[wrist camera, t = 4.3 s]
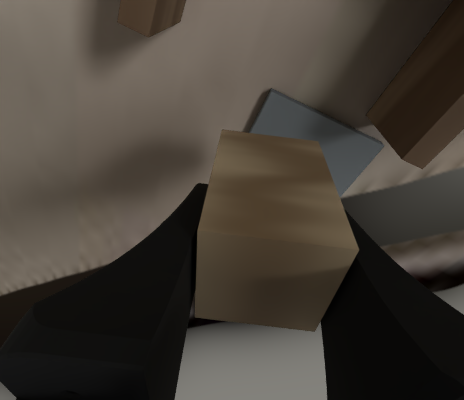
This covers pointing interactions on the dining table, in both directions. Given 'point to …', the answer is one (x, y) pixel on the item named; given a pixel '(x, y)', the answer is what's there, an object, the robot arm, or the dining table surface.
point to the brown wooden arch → (396, 94)
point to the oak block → (271, 234)
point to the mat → (318, 136)
